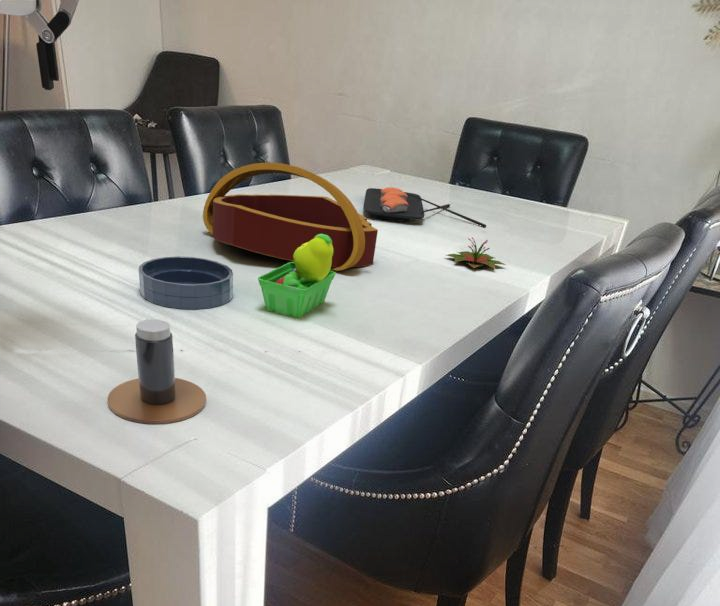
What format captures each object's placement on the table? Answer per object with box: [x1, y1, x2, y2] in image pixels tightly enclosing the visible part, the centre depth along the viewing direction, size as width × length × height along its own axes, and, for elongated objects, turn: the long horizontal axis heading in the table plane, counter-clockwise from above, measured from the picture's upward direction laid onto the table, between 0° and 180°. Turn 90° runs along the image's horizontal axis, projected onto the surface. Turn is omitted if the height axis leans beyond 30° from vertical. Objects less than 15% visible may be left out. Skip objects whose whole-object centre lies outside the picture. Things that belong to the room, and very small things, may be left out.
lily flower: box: [446, 236, 507, 270], centre depth 127 cm, size 12×12×5 cm
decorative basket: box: [202, 162, 379, 272], centre depth 116 cm, size 34×29×15 cm
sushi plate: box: [363, 186, 487, 228], centre depth 160 cm, size 29×30×4 cm
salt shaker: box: [134, 318, 176, 405], centre depth 66 cm, size 4×4×8 cm
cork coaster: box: [107, 377, 207, 425], centre depth 69 cm, size 10×10×1 cm
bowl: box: [138, 255, 234, 310], centre depth 94 cm, size 13×13×4 cm
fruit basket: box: [257, 234, 337, 319], centre depth 93 cm, size 11×9×11 cm
